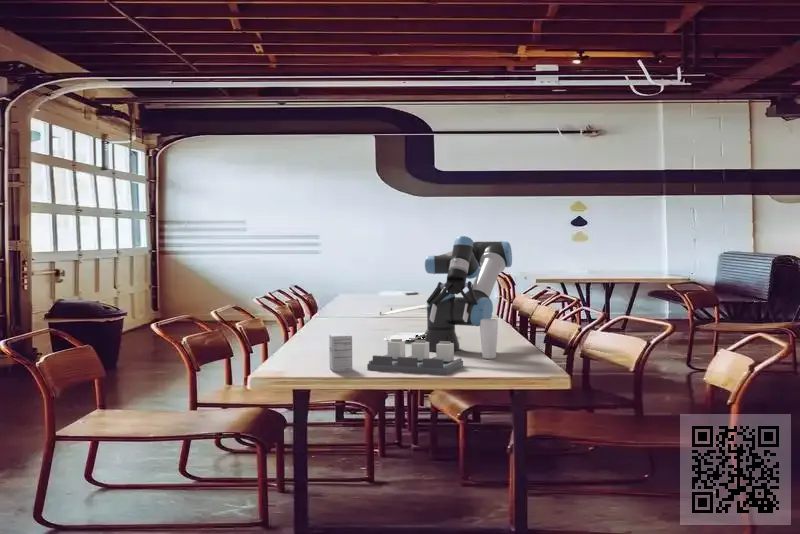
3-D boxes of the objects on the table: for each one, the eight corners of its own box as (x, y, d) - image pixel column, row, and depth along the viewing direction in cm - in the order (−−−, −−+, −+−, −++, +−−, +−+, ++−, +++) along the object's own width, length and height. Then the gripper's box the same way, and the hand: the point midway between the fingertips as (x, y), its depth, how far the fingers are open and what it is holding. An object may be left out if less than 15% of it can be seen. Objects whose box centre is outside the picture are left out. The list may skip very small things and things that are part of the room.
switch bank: (387, 361, 284) (386, 348, 284) (463, 366, 273) (463, 352, 272) (367, 369, 267) (367, 355, 267) (447, 374, 256) (447, 360, 256)
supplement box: (329, 368, 271) (328, 333, 270) (349, 367, 272) (349, 332, 272) (332, 372, 263) (331, 336, 263) (352, 371, 265) (352, 335, 265)
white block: (392, 356, 281) (392, 338, 281) (405, 357, 279) (405, 338, 279) (387, 358, 277) (387, 339, 276) (400, 359, 275) (400, 340, 275)
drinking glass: (490, 360, 286) (490, 320, 285) (476, 358, 291) (476, 319, 290) (501, 358, 291) (501, 319, 290) (487, 356, 295) (487, 318, 295)
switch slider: (440, 358, 274) (440, 340, 274) (453, 359, 272) (453, 340, 272) (436, 361, 270) (436, 342, 269) (449, 361, 268) (449, 342, 267)
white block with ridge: (416, 357, 278) (416, 339, 277) (429, 358, 276) (429, 339, 276) (411, 359, 273) (411, 341, 273) (424, 360, 271) (424, 341, 271)
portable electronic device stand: (429, 342, 338) (429, 308, 338) (378, 341, 344) (378, 307, 343) (439, 335, 363) (439, 303, 362) (392, 334, 368) (392, 302, 368)
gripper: (425, 268, 296) (414, 316, 285) (484, 266, 284) (475, 315, 274) (432, 278, 301) (421, 325, 291) (491, 276, 290) (482, 325, 280)
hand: (447, 320), depth 283 cm, fingers open, 13 cm apart
